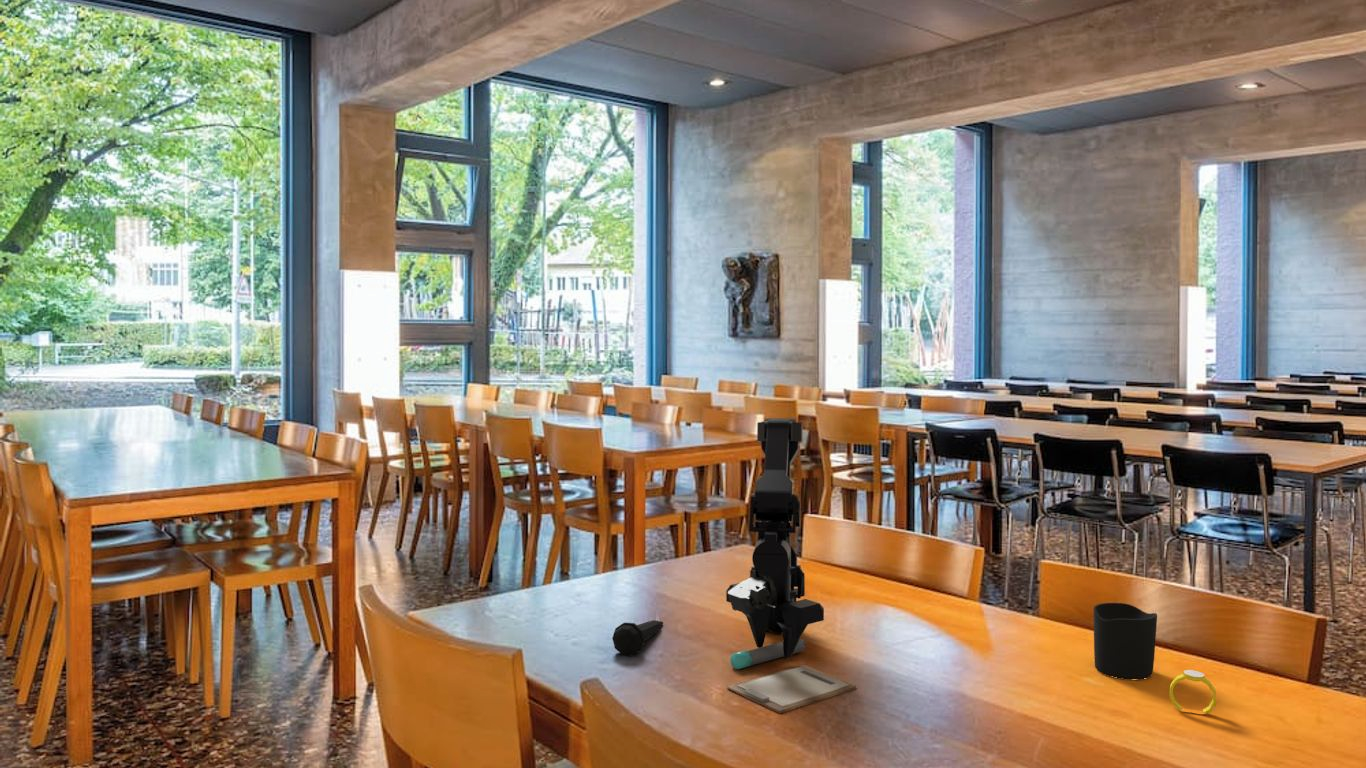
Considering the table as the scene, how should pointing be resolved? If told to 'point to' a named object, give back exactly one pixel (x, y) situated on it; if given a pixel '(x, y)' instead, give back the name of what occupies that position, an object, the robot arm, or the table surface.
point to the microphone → (634, 636)
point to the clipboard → (791, 688)
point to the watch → (1194, 677)
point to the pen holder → (1124, 640)
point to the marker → (762, 654)
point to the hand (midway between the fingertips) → (773, 652)
